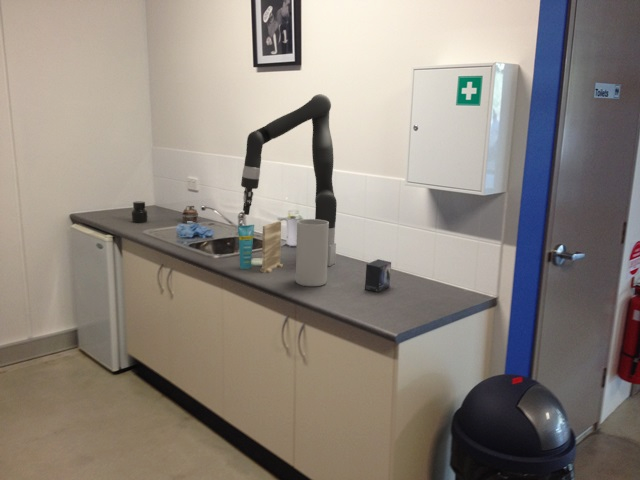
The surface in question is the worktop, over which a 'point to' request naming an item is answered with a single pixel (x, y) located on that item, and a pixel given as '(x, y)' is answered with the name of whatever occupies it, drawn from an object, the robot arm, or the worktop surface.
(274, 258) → the screen
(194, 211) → the rusty gas canister
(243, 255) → the tube
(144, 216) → the ink bottle
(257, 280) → the worktop surface
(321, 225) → the cylinder vase
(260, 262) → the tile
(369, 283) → the small box
